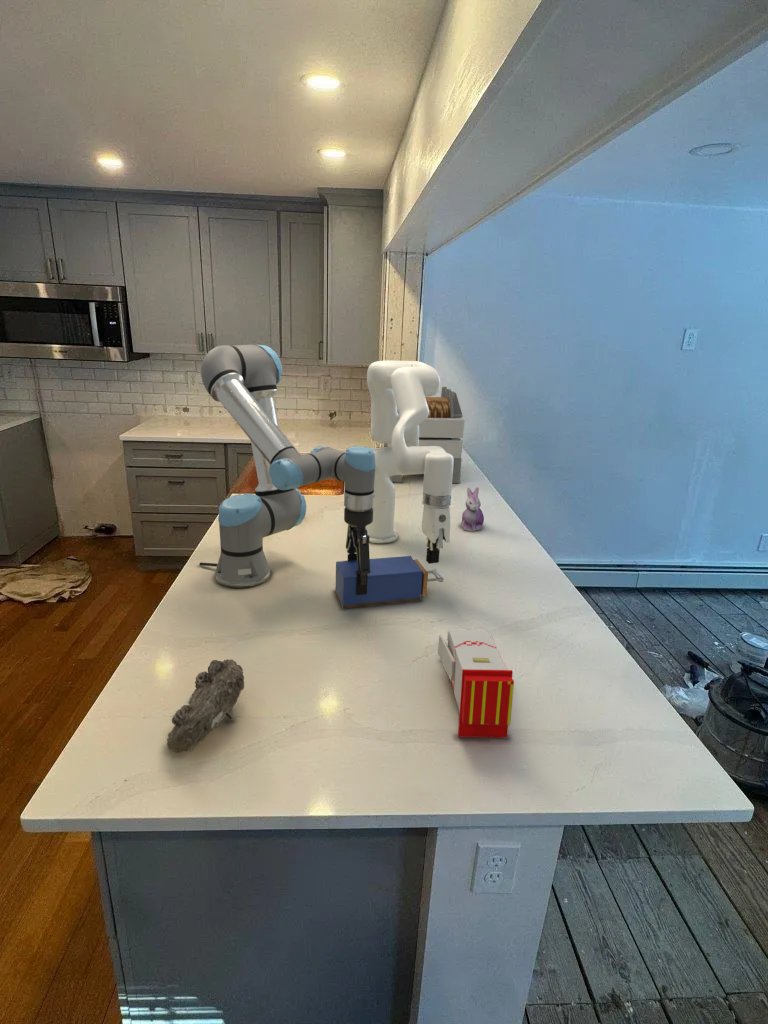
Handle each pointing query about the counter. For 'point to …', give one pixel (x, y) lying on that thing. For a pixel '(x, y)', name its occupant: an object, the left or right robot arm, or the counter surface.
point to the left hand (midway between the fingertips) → (356, 584)
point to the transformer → (442, 429)
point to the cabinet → (380, 582)
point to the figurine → (472, 512)
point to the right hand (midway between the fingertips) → (432, 561)
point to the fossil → (206, 705)
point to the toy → (478, 682)
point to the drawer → (425, 577)
